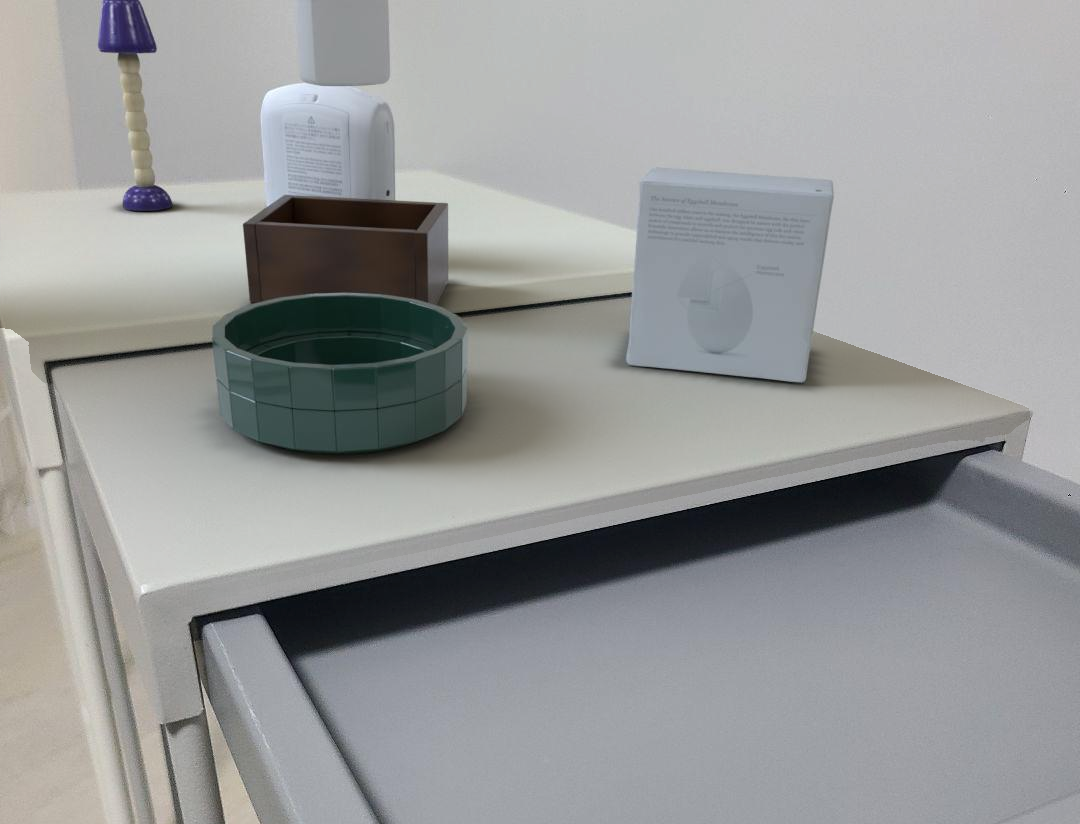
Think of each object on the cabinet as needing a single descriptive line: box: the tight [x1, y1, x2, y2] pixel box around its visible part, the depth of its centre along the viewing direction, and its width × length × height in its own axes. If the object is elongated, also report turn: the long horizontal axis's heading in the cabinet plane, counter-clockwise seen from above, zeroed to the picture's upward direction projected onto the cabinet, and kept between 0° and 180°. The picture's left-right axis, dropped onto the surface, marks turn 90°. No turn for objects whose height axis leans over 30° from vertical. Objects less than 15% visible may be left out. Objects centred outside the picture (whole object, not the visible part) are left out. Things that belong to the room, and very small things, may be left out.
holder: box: [242, 195, 449, 306], centre depth 72 cm, size 12×10×6 cm
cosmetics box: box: [625, 167, 835, 383], centre depth 62 cm, size 10×6×10 cm, turn 77°
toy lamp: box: [97, 0, 173, 212], centre depth 92 cm, size 5×5×17 cm
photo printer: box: [260, 82, 396, 208], centre depth 80 cm, size 10×4×12 cm, turn 69°
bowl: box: [211, 293, 468, 455], centre depth 54 cm, size 12×12×4 cm
